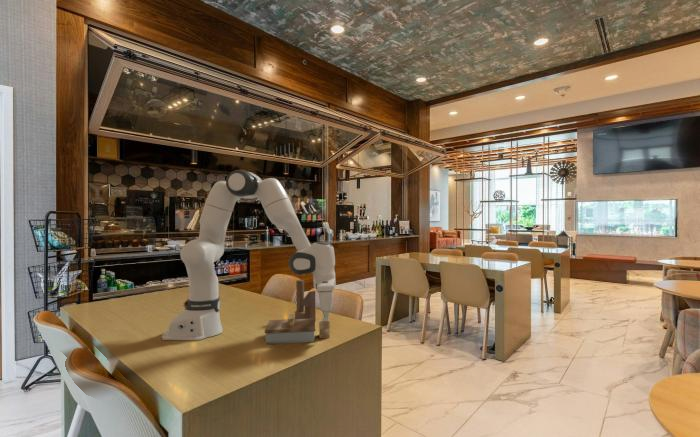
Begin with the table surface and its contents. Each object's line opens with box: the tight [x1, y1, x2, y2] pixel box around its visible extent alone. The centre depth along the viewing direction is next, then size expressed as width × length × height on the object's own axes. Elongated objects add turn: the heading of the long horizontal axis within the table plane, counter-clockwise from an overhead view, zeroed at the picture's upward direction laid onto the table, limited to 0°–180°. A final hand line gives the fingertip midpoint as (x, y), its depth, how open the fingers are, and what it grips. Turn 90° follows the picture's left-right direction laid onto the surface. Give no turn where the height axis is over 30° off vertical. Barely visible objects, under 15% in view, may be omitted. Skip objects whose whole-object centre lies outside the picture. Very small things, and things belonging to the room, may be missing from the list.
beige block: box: [318, 317, 331, 339], centre depth 136 cm, size 4×4×6 cm
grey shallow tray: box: [265, 331, 315, 345], centre depth 134 cm, size 18×12×4 cm, turn 96°
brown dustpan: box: [294, 279, 317, 322], centre depth 158 cm, size 4×11×18 cm, turn 48°
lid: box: [264, 313, 316, 334], centre depth 134 cm, size 19×13×4 cm
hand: (325, 317), depth 136 cm, fingers open, 8 cm apart
